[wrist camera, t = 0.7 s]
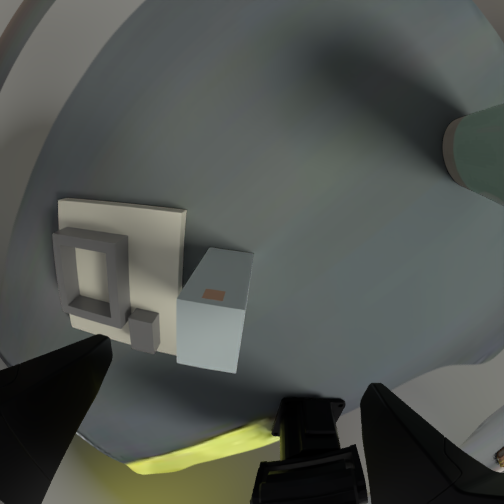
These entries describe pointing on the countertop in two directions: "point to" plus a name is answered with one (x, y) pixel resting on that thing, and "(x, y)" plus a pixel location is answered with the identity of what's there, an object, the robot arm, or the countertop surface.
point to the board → (121, 270)
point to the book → (501, 457)
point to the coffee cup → (477, 152)
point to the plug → (214, 310)
